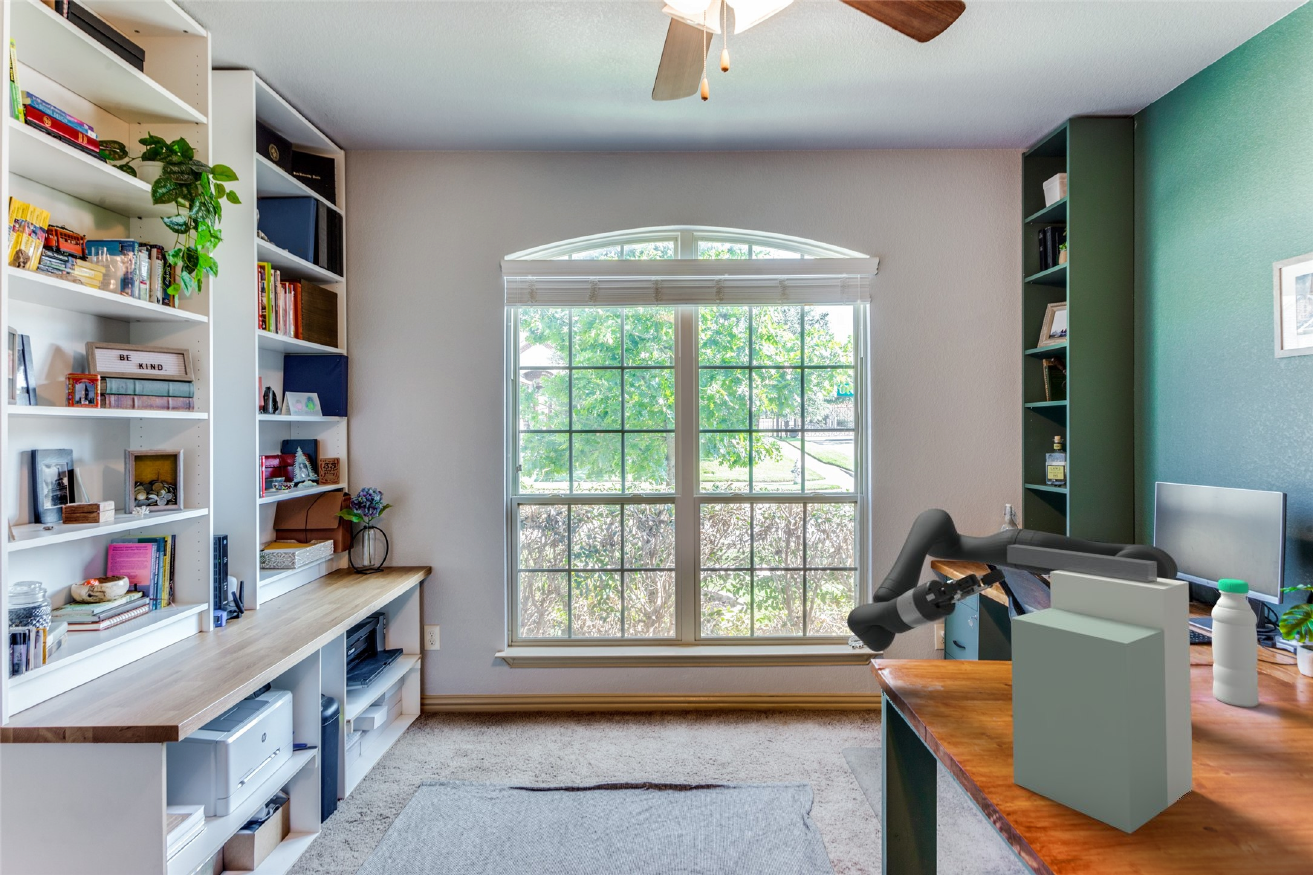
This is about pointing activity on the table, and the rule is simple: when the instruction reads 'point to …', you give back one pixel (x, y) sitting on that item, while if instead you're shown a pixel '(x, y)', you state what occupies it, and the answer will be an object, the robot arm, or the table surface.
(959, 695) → the table surface
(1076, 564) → the steel bar
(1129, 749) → the stepped stand
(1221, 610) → the water bottle
